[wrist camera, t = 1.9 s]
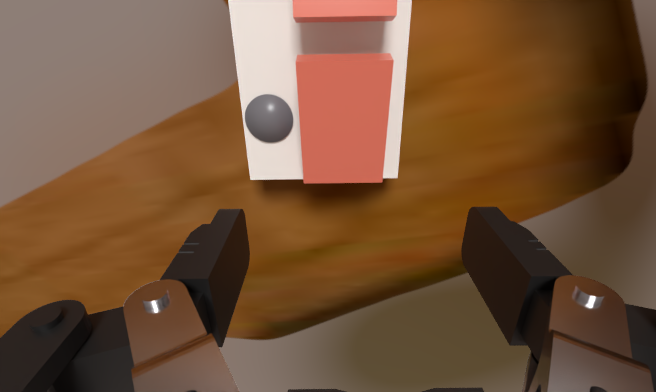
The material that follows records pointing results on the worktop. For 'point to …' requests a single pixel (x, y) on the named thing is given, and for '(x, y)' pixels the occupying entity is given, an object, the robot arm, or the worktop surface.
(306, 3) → the rocker middle
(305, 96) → the rocker
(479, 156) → the worktop surface
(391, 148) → the power strip
